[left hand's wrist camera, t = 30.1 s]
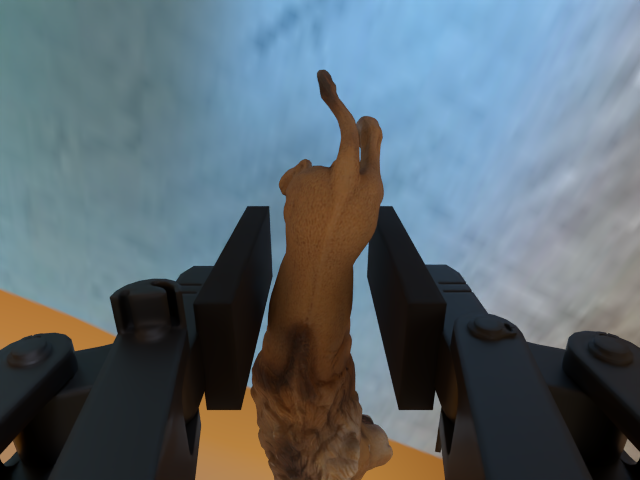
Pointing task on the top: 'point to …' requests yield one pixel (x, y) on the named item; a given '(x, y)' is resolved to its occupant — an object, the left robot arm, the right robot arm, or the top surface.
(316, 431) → the lion figurine
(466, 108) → the top surface
